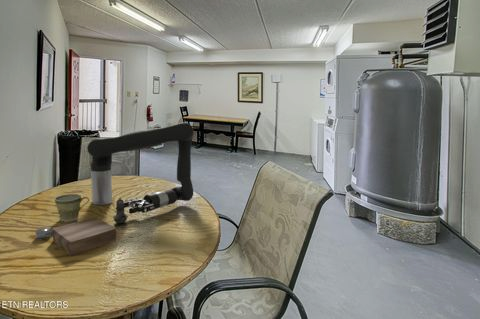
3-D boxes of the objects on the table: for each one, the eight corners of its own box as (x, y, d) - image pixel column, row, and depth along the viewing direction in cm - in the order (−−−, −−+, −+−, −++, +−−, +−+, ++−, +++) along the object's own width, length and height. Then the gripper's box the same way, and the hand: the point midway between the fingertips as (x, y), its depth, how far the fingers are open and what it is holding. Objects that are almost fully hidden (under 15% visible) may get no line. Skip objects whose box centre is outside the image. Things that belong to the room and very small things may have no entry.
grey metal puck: (34, 237, 114) (33, 229, 113) (48, 233, 118) (48, 226, 117) (38, 241, 111) (38, 233, 110) (53, 237, 114) (53, 229, 114)
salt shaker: (115, 221, 131) (114, 195, 129) (129, 221, 132) (129, 195, 129) (111, 227, 125) (110, 199, 123) (125, 227, 126) (125, 199, 124)
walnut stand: (53, 241, 111) (52, 228, 110) (96, 228, 123) (95, 216, 122) (71, 256, 101) (70, 242, 100) (116, 240, 113) (116, 228, 113)
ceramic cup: (55, 225, 125) (53, 202, 123) (57, 216, 134) (55, 195, 132) (90, 220, 131) (89, 198, 129) (89, 213, 140) (88, 192, 138)
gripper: (147, 189, 145) (115, 196, 132) (165, 196, 136) (133, 204, 123) (147, 204, 146) (115, 212, 134) (165, 212, 137) (133, 221, 125)
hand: (124, 208), depth 129 cm, fingers open, 8 cm apart
